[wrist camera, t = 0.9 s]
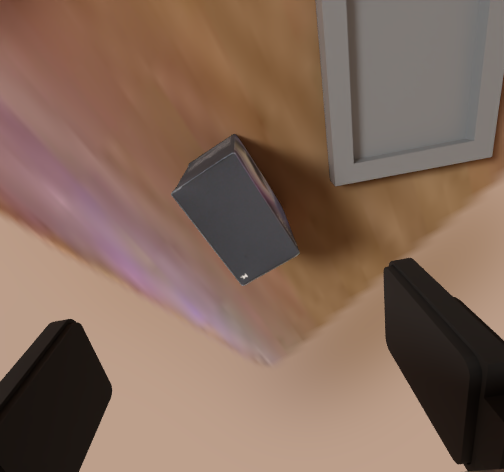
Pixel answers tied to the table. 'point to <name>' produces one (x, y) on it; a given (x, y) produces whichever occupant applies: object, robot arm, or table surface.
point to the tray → (409, 83)
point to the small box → (236, 211)
